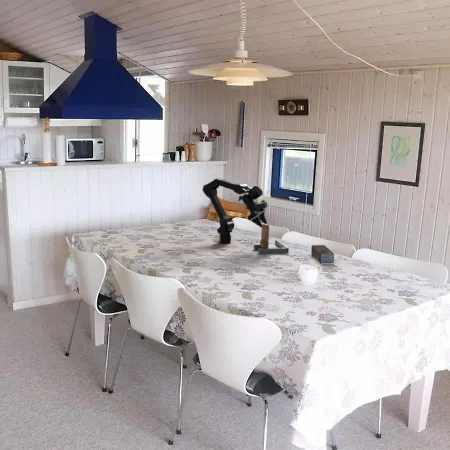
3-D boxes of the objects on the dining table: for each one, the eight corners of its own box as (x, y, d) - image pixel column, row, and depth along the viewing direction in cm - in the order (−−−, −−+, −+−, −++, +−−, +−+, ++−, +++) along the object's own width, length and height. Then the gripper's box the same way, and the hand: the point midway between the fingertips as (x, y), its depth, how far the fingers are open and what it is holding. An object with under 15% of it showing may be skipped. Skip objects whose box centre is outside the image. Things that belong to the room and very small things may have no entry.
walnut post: (261, 252, 313) (263, 225, 310) (259, 250, 317) (260, 223, 314) (269, 252, 314) (270, 225, 311) (266, 250, 319) (268, 223, 315)
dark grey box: (319, 264, 293) (320, 252, 292) (310, 255, 312) (311, 244, 311) (334, 264, 294) (335, 252, 293) (323, 255, 313) (324, 244, 312)
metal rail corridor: (258, 254, 310) (259, 249, 309) (248, 245, 329) (248, 240, 329) (288, 253, 314) (288, 248, 313) (276, 244, 334) (276, 239, 333)
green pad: (267, 248, 323) (267, 247, 323) (262, 245, 331) (262, 244, 331) (278, 248, 325) (278, 247, 325) (273, 244, 333) (274, 244, 333)
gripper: (256, 198, 308) (271, 221, 308) (265, 193, 325) (279, 215, 325) (241, 209, 312) (255, 231, 312) (250, 203, 329) (264, 224, 329)
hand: (264, 225), depth 320 cm, fingers open, 9 cm apart
